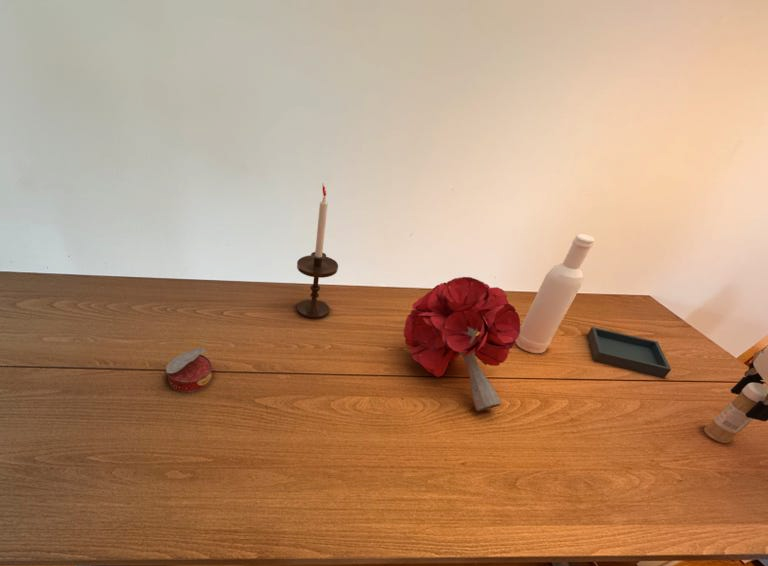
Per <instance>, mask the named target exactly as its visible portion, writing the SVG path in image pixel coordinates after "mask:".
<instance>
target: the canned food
mask: <svg viewBox="0 0 768 566" xmlns="http://www.w3.org/2000/svg"><path fill="white" fill-rule="evenodd" d="M206 351H207V348H206V347H199V348H193V349H191V350H187V351H186V352H183V353H181V354H178V355H177V356H174V357H173V358H172V359H171V360H170V361H169V362H168V363H167V365H166V366H165V371H166V375H167V381H168V383H169V385H170V387H172V388H173V389H174V390H176V391H179V392H183V393H192V392H197V391H200V390H202V389H204V388H205V387H207V386H208V385H209V384H210V383H211V382H212V380H213V370H212V362H211V360H210V359H209V358H208V357H207V356H205V355H202V354H204V353H205V352H206ZM170 382H171V383H172V384H171V383H170ZM174 385H175V386H174ZM176 386H177V387H176ZM179 387H180V388H179ZM186 388H187V389H186Z"/></svg>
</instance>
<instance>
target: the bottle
mask: <svg viewBox="0 0 768 566" xmlns="http://www.w3.org/2000/svg"><path fill="white" fill-rule="evenodd" d="M594 242H595V238H594V237H593V236H591V235H590V234H589V235H588V234H585V233H579V234H577V235H576V236H575V237H574V239H573V240H572V244H571V246H570V248H569V249H568V252H567V254H566V256H565V257H564V260H563V261H562V263H558V264H556V265H554V266H553V267H551V269H550V270H548V271H547V273H546V274H545V276H544V278H543V280H542V282H541V285H540V287H539V288H538V291H537V293H536V294H535V297H534V299H533V301H532V303H531V305H530V307H529V309H528V311H527V313H526V315H525V318H524V319H523V321H522V324H521V325H520V334H519V337H518V338H517V339H516V340H515V341H516V344H515V345H516V346H518V347H519V348H520V350H523V351H526V352H528V353H531V354H532V353H533V354H542V353H544V352H546V350H547V349H548V347H549V346H550V344H551V342H552V340H553V338H554V336H555V334H556V332H557V331H558V328H559V327H560V325H561V324H562V321H564V320H563V319H565V316H566V314H567V313H568V311H569V309H570V307H571V305H572V303H573V302H574V300H575V298H576V296H577V294H578V292H579V291H580V289H581V287H582V286H583V283H584V272H583V271H582V270H581V266H582V264H583V263H584V261H585V258H586V257H587V255H588V253H589V251H590V249H591V248H592V247H593V246H594Z"/></svg>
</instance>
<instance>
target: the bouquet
mask: <svg viewBox="0 0 768 566" xmlns="http://www.w3.org/2000/svg"><path fill="white" fill-rule="evenodd" d="M507 298H508V297H507V294H506V292H505V290H504V289H502V288H499V286H498V287H497V286H496V287H495V286H494V287H491V286H490V285H489V284H487V283H485V282H484V281H481V280H479V279H477V278H475V277H471V276H461V277H455V278H452V279H450V280H448V281H446V282H441V283H439V284H437V285H435V286H434V287H433V288H432V290H430V291H429V292H426V294H424V295H423V296H422V297H420V298H418V299H416V301H415V302H413V303H412V306H411V310H410V313H409V314H408V315H407V317H406V319H405V323H404V328H403V337H404V338H405V340H404V342H405V344H406V346H408V347H409V348H410V347H411V348H410V349H409V351H408V352H409V353H410V354H411V357H412V359H413V360H414V361H415V362H417V363H418V364H420V365H421V366H423V368H424V370H426V372H427V373H430V374H431V375H434V376H435V377H437V378H439V377H442V376H444V374H445V372H446V370H447V369H448V366H449V362H452V361H454V360H456V359H458V358H459V357H460V356H461V358H462V360H463V361H464V364H465V366H466V368H467V372H468V376H469V384H470V393H471V397H472V399H471V400H472V403H473V405H474V408H475V410H476V412H480V411H486V410H489V409H493V408H497V407H499V406H501V405H502V403H501V400H500V397H499V395H498V393H497V391H496V389H495V388H494V386H493V385H492V383H491V381H490V380H489V379H488V377H487V376H486V374H485V373H484V372H483V371H482V369H481V367H480V365H479V363H478V360H479V361H481V363H483V364H484V365H485V366H487V365H488V366H490V367H498V366H500V364H502V363H505V361H506V360H507V359H508V356H509V354H510V350H511V349H512V348H514V346H516V345H517V344H516V341H515V340H516V339H517V338H518V337H519V334H520V328H521V319H520V318H521V317H520V316H519V313H518V312H517V311H516V308H515V307H514V305H512V304H510V302H509V300H508V299H507Z"/></svg>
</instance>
